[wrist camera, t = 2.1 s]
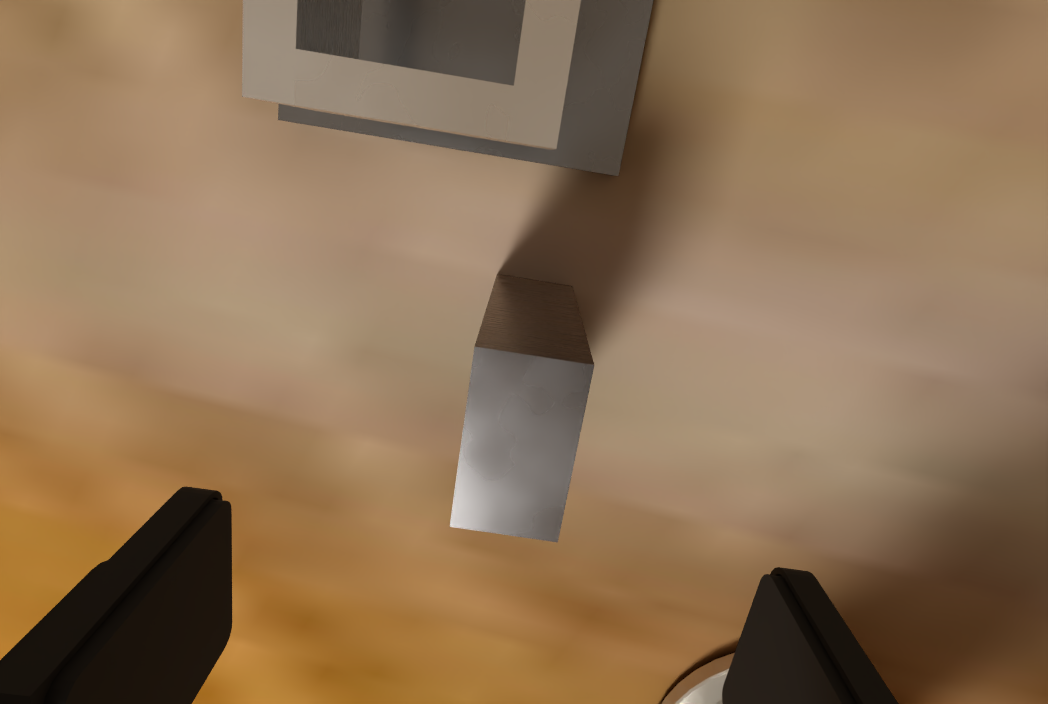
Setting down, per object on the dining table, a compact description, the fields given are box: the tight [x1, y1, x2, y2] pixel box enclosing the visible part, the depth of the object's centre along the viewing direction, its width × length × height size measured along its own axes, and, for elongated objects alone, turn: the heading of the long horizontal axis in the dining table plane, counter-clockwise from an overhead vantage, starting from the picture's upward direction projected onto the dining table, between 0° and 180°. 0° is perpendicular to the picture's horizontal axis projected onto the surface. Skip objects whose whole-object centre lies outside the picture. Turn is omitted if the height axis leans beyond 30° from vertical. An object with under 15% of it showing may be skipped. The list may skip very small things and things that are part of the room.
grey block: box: [450, 274, 594, 542], centre depth 21 cm, size 6×3×10 cm, turn 171°
